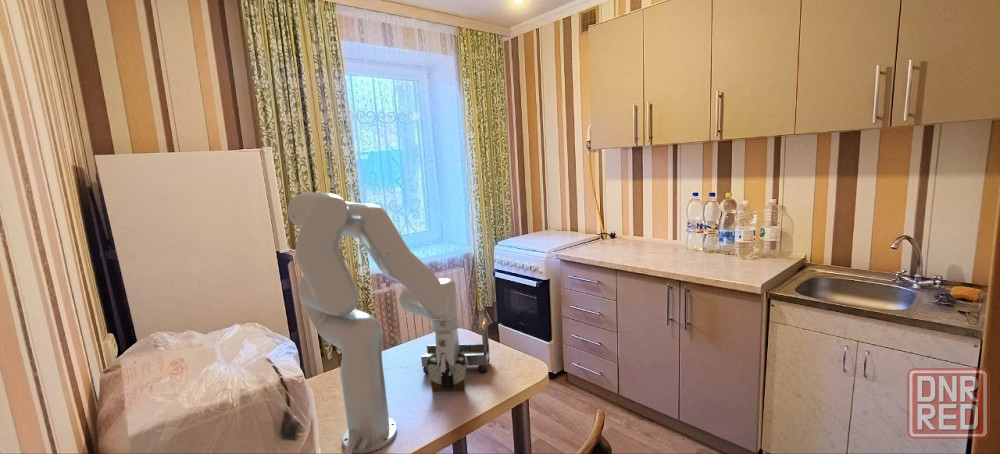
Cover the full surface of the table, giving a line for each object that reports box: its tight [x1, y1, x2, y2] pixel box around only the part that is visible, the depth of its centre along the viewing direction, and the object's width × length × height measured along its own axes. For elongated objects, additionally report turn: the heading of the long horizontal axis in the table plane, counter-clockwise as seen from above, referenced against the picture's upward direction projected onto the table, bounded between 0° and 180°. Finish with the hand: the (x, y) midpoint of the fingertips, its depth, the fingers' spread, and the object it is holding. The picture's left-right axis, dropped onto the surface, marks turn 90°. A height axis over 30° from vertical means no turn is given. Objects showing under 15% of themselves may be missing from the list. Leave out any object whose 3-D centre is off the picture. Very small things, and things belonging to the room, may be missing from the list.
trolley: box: [420, 317, 491, 375], centre depth 132 cm, size 8×20×15 cm, turn 86°
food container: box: [425, 352, 469, 394], centre depth 122 cm, size 12×6×10 cm, turn 85°
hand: (449, 381), depth 122 cm, fingers closed on food container, 5 cm apart
